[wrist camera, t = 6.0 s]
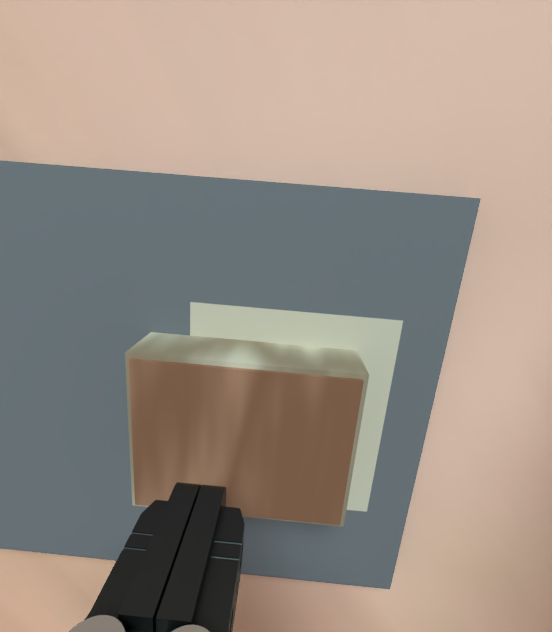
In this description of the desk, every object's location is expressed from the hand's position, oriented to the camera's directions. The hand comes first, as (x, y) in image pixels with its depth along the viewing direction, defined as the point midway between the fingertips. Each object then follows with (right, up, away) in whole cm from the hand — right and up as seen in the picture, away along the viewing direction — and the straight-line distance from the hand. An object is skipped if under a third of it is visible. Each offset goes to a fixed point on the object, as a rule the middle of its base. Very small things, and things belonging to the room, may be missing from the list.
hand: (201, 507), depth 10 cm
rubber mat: (-3, +2, +6) cm, 7 cm away
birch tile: (-4, +1, +4) cm, 6 cm away
